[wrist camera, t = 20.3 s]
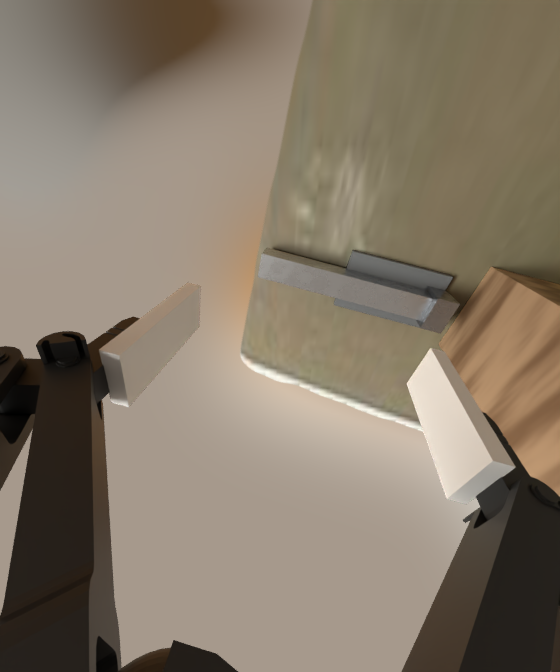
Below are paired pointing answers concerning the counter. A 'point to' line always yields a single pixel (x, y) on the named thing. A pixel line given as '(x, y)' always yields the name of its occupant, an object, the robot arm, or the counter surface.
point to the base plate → (394, 273)
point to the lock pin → (360, 288)
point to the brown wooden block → (514, 364)
